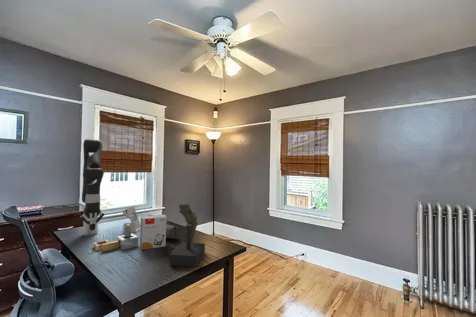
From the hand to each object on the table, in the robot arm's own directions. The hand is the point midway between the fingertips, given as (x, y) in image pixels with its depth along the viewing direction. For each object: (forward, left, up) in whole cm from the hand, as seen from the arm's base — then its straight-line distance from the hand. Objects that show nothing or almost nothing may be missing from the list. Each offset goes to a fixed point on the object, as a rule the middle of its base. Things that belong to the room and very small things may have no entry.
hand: (92, 230), depth 137 cm
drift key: (0, +10, -14) cm, 18 cm away
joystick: (+44, +39, -15) cm, 60 cm away
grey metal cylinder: (0, +21, -14) cm, 25 cm away
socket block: (0, +21, -14) cm, 25 cm away
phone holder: (-34, +37, -15) cm, 52 cm away
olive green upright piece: (+29, +49, -15) cm, 58 cm away
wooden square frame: (-8, +8, -14) cm, 18 cm away
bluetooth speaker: (-1, +45, -15) cm, 47 cm away
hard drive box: (+12, +33, -15) cm, 38 cm away
